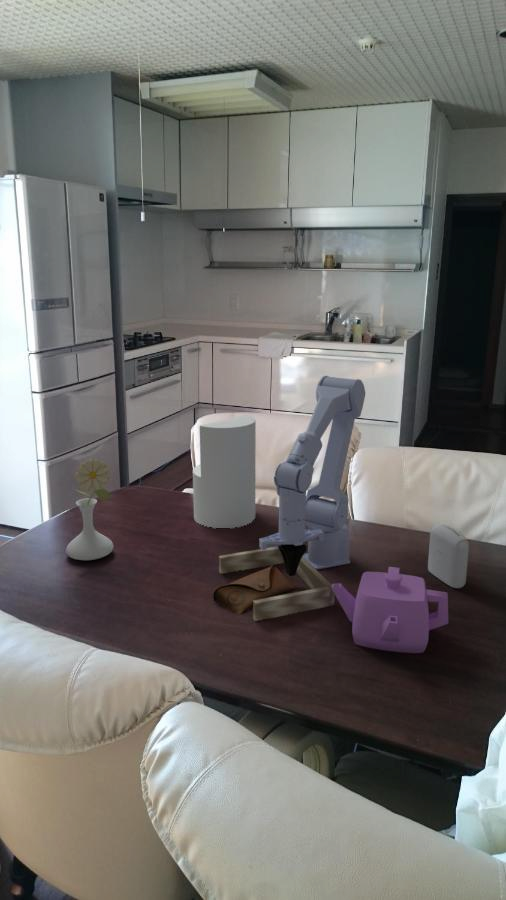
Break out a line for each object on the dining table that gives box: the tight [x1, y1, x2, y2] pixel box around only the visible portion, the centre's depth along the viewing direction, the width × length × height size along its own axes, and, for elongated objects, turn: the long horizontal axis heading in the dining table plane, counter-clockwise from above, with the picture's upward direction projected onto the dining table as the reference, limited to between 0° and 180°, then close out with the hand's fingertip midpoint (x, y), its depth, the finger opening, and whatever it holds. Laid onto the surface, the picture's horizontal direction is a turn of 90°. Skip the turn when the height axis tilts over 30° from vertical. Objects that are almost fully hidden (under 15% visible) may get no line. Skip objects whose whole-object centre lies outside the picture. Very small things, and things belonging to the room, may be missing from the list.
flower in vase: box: [65, 458, 115, 561], centre depth 154 cm, size 13×11×25 cm
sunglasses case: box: [212, 564, 298, 614], centre depth 139 cm, size 18×7×7 cm, turn 133°
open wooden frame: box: [218, 546, 336, 622], centre depth 141 cm, size 18×23×4 cm
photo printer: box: [427, 523, 470, 589], centre depth 144 cm, size 10×4×12 cm, turn 20°
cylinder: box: [192, 414, 257, 529], centre depth 177 cm, size 17×17×28 cm
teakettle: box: [331, 566, 449, 654], centre depth 123 cm, size 17×17×12 cm
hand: (290, 573), depth 142 cm, fingers closed
